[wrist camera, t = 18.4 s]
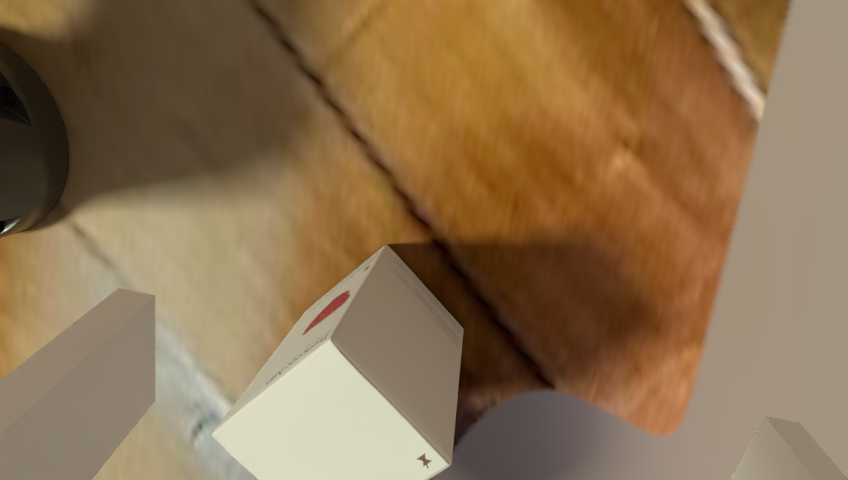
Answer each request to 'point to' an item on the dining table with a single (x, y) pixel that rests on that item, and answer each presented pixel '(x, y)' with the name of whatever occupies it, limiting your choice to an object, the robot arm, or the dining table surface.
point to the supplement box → (355, 385)
